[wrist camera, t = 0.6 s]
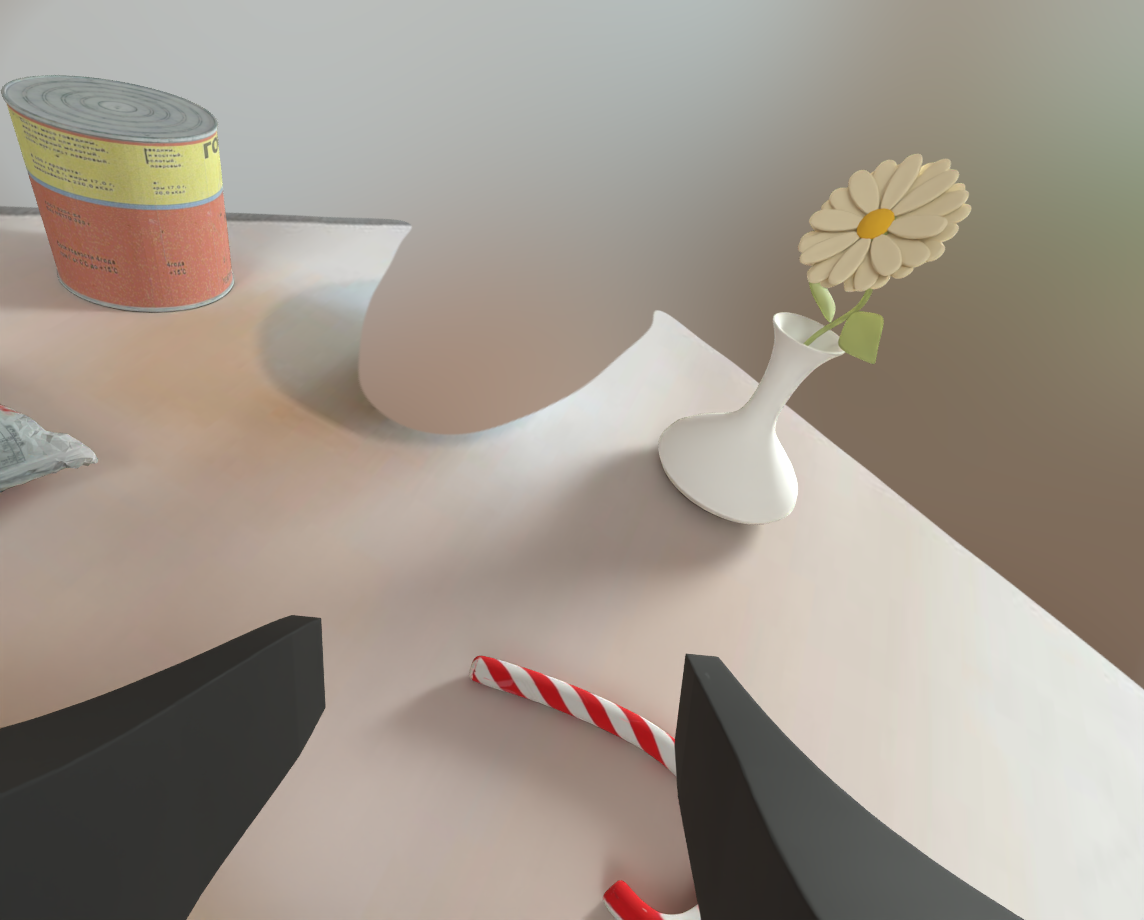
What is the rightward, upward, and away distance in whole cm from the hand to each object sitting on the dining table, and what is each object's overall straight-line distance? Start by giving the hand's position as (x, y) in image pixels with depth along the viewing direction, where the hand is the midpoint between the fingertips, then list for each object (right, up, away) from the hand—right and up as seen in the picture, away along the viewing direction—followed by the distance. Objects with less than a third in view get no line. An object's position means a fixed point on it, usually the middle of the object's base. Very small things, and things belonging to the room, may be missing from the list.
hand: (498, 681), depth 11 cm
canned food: (-32, +19, +34) cm, 51 cm away
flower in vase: (+13, +2, +34) cm, 36 cm away
